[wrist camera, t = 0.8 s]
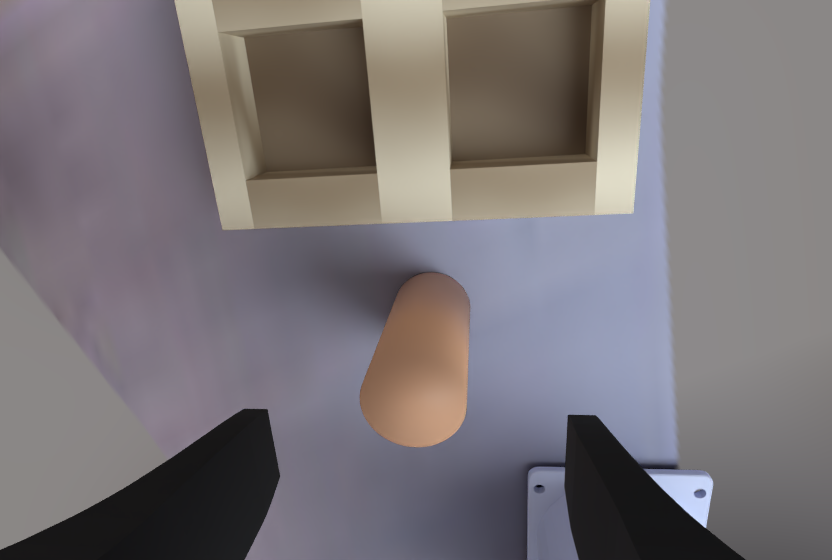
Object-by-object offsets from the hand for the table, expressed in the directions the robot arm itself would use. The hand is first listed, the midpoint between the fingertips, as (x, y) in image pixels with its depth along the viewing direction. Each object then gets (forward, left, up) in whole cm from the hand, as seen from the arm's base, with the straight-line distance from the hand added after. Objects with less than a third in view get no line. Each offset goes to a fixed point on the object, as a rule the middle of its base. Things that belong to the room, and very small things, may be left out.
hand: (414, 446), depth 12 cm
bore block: (+8, +1, -10) cm, 13 cm away
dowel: (-1, 0, -10) cm, 10 cm away
